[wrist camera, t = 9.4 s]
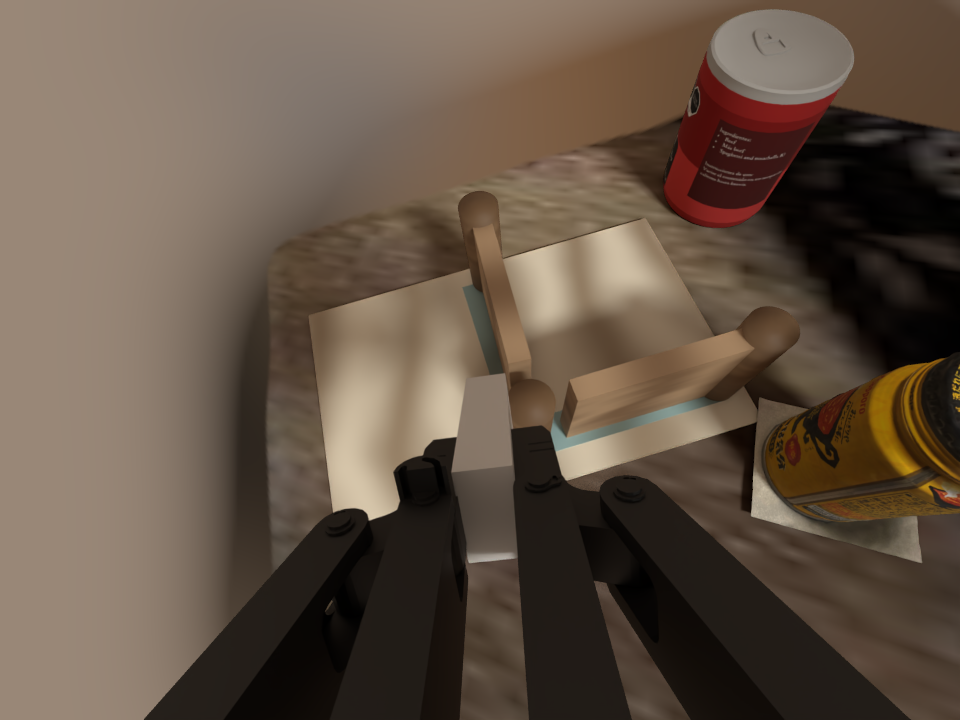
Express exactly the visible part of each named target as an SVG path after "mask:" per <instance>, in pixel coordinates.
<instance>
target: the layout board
mask: <svg viewBox="0 0 960 720" xmlns="http://www.w3.org/2000/svg"><path fill="white" fill-rule="evenodd" d="M503 262H504V265H505V269H506V272H507V276H508V279H509V282H510V286H511V289H512V293H513V296H514V300H515V303H516V307H517V310H518V314H519V317H520V320H521V324H522V327H523V331H524V334H525V338H526V341H527V345H528V348H529V352H530V355H531V379H536V380H540V381H542V382H544V383H545V384H547V385H548V386H549V387H550V388H551V389H552V391H553V393H554V395H555V399H556V407H555V412H554V418H553V423H552V429H551V436H552V440H553V444H554V447H555V451H556V455H557V459H558V462H559V466H560V470H561V474H562V475H563V477H564V478H565V480H566V481H567V480H570V479H573V478H577V477H580V476H583V475H587V474H590V473H593V472H596V471H600V470H603V469H606V468H610V467H613V466H616V465H619V464H623V463H626V462H629V461H633V460H636V459H639V458H642V457H646V456H649V455H652V454H656V453H659V452H662V451H665V450H669V449H672V448H675V447H678V446H682V445H685V444H688V443H692V442H695V441H698V440H701V439H705V438H708V437H711V436H715V435H718V434H721V433H724V432H728V431H731V430H734V429H738V428H741V427H744V426H747V425H751V424H754V423H757V416H758V410H757V408H756V406H755V405H754V403H753V401H752V400H751V398H750V396H749V394H748V393H747V391H746V389H745V388H744V386H743V387H742V388H741V389H740V390H738V391H737V392H736V393H735V394H734V395H732V396H731V397H730V398H729V399H727V400H724V401H713V400H710V399H708V398H706V397H701V398H698V399H694V400H691V401H688V402H684V403H681V404H678V405H674V406H671V407H668V408H664V409H661V410H658V411H654V412H651V413H648V414H645V415H641V416H638V417H635V418H631V419H628V420H625V421H621V422H618V423H615V424H611V425H608V426H605V427H601V428H598V429H595V430H591V431H588V432H585V433H582V434H578V435H575V436H572V437H568V438H566V435H565V433H564V430H563V427H562V425H561V422H560V418H561V414H562V409H563V405H564V401H565V396H566V392H567V387H568V383H569V380H570V379H573V378H576V377H580V376H583V375H587V374H590V373H593V372H597V371H600V370H603V369H607V368H610V367H613V366H617V365H620V364H624V363H627V362H630V361H634V360H637V359H640V358H644V357H647V356H650V355H654V354H657V353H660V352H664V351H667V350H671V349H674V348H677V347H681V346H684V345H687V344H691V343H694V342H697V341H701V340H704V339H708V338H711V337H714V335H713V333H712V331H711V329H710V328H709V326H708V324H707V323H706V321H705V319H704V317H703V316H702V314H701V312H700V311H699V309H698V307H697V305H696V304H695V302H694V300H693V299H692V297H691V295H690V293H689V292H688V290H687V288H686V287H685V285H684V283H683V281H682V280H681V278H680V276H679V275H678V273H677V271H676V269H675V268H674V266H673V264H672V263H671V261H670V259H669V257H668V256H667V254H666V252H665V251H664V249H663V247H662V245H661V244H660V242H659V240H658V239H657V237H656V235H655V233H654V232H653V230H652V228H651V227H650V225H649V223H648V221H647V220H646V218H644V219H640V220H637V221H633V222H630V223H627V224H623V225H620V226H616V227H613V228H609V229H606V230H602V231H599V232H595V233H592V234H588V235H585V236H581V237H578V238H575V239H571V240H568V241H564V242H561V243H557V244H554V245H550V246H547V247H543V248H540V249H536V250H533V251H529V252H526V253H522V254H519V255H516V256H512V257H509V258H505V259H503ZM308 316H309V324H310V332H311V340H312V348H313V356H314V364H315V372H316V380H317V388H318V396H319V404H320V412H321V420H322V428H323V436H324V443H325V451H326V459H327V467H328V475H329V483H330V491H331V499H332V507H333V513H334V512H336V511H338V510H339V511H340V510H342V509H349V508H357V509H362V510H364V511H365V512H366V513H367V514H368V518H369V520H372V519H375V518H378V517H381V516H384V515H387V514H389V513H392V512H394V511H396V510H397V508H398V505H399V502H400V499H399V495H398V490H397V486H396V482H395V478H394V474H393V472H394V470H395V469H396V467H397V466H398V465H400V464H401V463H402V462H404V461H406V460H408V459H411V458H413V457H417V456H422V455H423V453H424V450H425V448H426V447H427V446H428V445H429V444H430V443H431V442H432V441H433V440H436V439H444V438H452V437H457V433H458V427H459V421H460V415H461V408H462V402H463V396H464V390H465V383H466V378H473V377H480V376H488V375H495V374H503V373H504V372H503V369H502V365H501V361H500V357H499V353H498V349H497V345H496V341H495V337H494V333H493V329H492V325H491V321H490V318H489V314H488V310H487V306H486V302H485V298H484V294H483V292H480V291H478V290H477V289H476V288H475V287H474V286H473V283H472V278H471V273H470V269H467V270H464V271H460V272H457V273H453V274H450V275H446V276H443V277H439V278H436V279H432V280H429V281H425V282H422V283H418V284H415V285H412V286H408V287H405V288H401V289H398V290H394V291H391V292H387V293H384V294H380V295H377V296H373V297H370V298H366V299H363V300H359V301H356V302H353V303H349V304H346V305H342V306H339V307H335V308H332V309H328V310H325V311H321V312H318V313H314V314H311V315H308ZM507 390H508V388H507ZM508 393H509V392H508Z"/></svg>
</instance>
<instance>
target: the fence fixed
mask: <svg viewBox="0 0 960 720" xmlns="http://www.w3.org/2000/svg"><path fill="white" fill-rule="evenodd" d="M799 336H800V328H799V325H798V323H797V321H796V320H795V319H794V318H793V317H792V316H791V315H790V314H789V313H788V312H786V311H784V310H782V309H780V308H776V307H770V306H766V307H760V308H757V309H755V310H754V311H752V312H751V313H750V314H749V316H748V317H747V318H746V319H745V320H744V321H743V322H742V323H741V325H740V326H739V327H738V328H737V329H736V330H734V331H731V332H728V333H724V334H721V335H718V336H714V337H711V338H708V339H704V340H701V341H697V342H694V343H691V344H687V345H684V346H681V347H677V348H674V349H671V350H667V351H664V352H660V353H657V354H654V355H650V356H647V357H644V358H640V359H637V360H634V361H630V362H627V363H624V364H620V365H617V366H613V367H610V368H607V369H603V370H600V371H597V372H593V373H590V374H587V375H583V376H580V377H576V378H573V379H570V380H569V383H568V387H567V392H566V396H565V401H564V405H563V409H562V414H561V418H560V422H561V425H562V427H563V430H564V433H565V435H566V438H568V437H572V436H575V435H578V434H582V433H585V432H588V431H591V430H595V429H598V428H601V427H605V426H608V425H611V424H615V423H618V422H621V421H625V420H628V419H631V418H635V417H638V416H641V415H645V414H648V413H651V412H654V411H658V410H661V409H664V408H668V407H671V406H674V405H678V404H681V403H684V402H688V401H691V400H694V399H698V398H701V397H706V398H708V399H710V400H713V401H724V400H727V399H729V398H730V397H731V396H732V395H734V394H735V393H736V392H737V391H738V390H740V389H741V388H742V387H743V386H744V385H746V384H747V383H748V382H749V381H751V380H752V379H753V378H754V377H755V376H757V375H758V374H759V373H760V372H761V371H763V370H764V369H765V368H766V367H768V366H769V365H770V364H771V363H772V362H774V361H775V360H776V359H777V358H778V357H780V356H781V355H782V354H783V353H785V352H786V351H787V350H788V349H789V348H791V347H792V346H793V345H794V344H795V343H796V342H797V341H798V339H799ZM508 397H509V404H510V411H511V418H512V425H513V429H515V428H523V427H531V426H540V425H542V426H543V427H545V428H546V429H547V430H548V431H550V433H551V429H552V423H553V418H554V412H555V407H556V399H555V395H554V393H553V391H552V389H551V388H550V387H549V386H548V385H547V384H545V383H544V382H542V381H540V380H536V379H526V380H522V381H520V382H518V383H516V384H515V385H514V386H513V387H512V388H511V389H510V391H509V393H508Z"/></svg>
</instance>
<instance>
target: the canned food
mask: <svg viewBox="0 0 960 720" xmlns="http://www.w3.org/2000/svg"><path fill="white" fill-rule="evenodd" d="M853 62H854V52H853V49H852V47H851V44H850V42H849V41H848V40H847V39H846V37H845V36H844V35H843V34H842V33H841V32H840V31H839V30H837V29H836V28H835V27H833V26H832V25H830V24H828V23H827V22H825V21H823V20H821V19H818V18H816V17H814V16H810V15H807V14H804V13H799V12H794V11H789V10H774V9H772V10H758V11H752V12H747V13H744V14H741V15H738V16H736V17H734V18H731V19H729V20H728V21H726V22H725V23H724V24H722V25H721V26H720V27H719V28H718V29H717V31H716V32H715V33H714V36H713V38H712V40H711V42H710V44H709V46H708V49H707V52H706V54H705V57H704V60H703V63H702V65H701V68H700V70H699V73H698V76H697V79H696V82H695V85H694V88H693V91H692V94H691V97H690V99H689V102H688V105H687V108H686V111H685V114H684V117H683V120H682V123H681V125H680V128H679V131H678V134H677V137H676V140H675V143H674V146H673V149H672V152H671V154H670V157H669V160H668V163H667V166H666V169H665V172H664V178H663V188H664V195H665V197H666V200H667V202H668V204H669V205H670V206H671V208H672V209H673V210H674V211H675V212H676V213H677V214H678V215H680V216H681V217H683V218H684V219H686V220H688V221H690V222H692V223H694V224H697V225H701V226H705V227H711V228H725V227H731V226H735V225H738V224H740V223H742V222H744V221H746V220H748V219H749V218H750V217H751V216H753V215H754V214H755V213H756V212H757V211H759V210H760V209H761V207H762V206H763V204H764V203H765V201H766V200H767V198H768V197H769V195H770V194H771V192H772V191H773V189H774V188H775V186H776V185H777V183H778V182H779V180H780V179H781V177H782V176H783V174H784V173H785V171H786V170H787V168H788V167H789V165H790V164H791V162H792V161H793V159H794V158H795V156H796V155H797V153H798V152H799V150H800V149H801V147H802V146H803V144H804V143H805V141H806V140H807V138H808V137H809V135H810V134H811V132H812V131H813V129H814V128H815V126H816V125H817V123H818V122H819V120H820V119H821V117H822V116H823V114H824V113H825V111H826V110H827V108H828V107H829V105H830V104H831V102H832V101H833V99H834V98H835V96H836V94H837V92H838V91H839V89H840V88H841V86H842V85H843V83H844V82H845V80H846V78H847V76H848V73H849V72H850V70H851V69H852V66H853Z"/></svg>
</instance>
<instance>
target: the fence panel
mask: <svg viewBox="0 0 960 720" xmlns="http://www.w3.org/2000/svg"><path fill="white" fill-rule="evenodd" d="M458 211H459V217H460V222H461V227H462V232H463V237H464V242H465V247H466V253H467V258H468V263H469V268H470V273H471V278H472V283H473V286H474V287H475V288H476V289H477V290H478V291H480V292H483V294H484V298H485V302H486V306H487V310H488V314H489V318H490V321H491V325H492V329H493V333H494V337H495V341H496V345H497V349H498V353H499V357H500V361H501V365H502V369H503V372H504V373H505V375H506V383H507V388H508V392H509V391H510V389H511V388H512V387H513V386H514V385H515V384H516V383H518V382H520V381H522V380H526V379H531V355H530V352H529V348H528V345H527V341H526V338H525V334H524V331H523V327H522V324H521V320H520V317H519V314H518V310H517V307H516V303H515V300H514V296H513V293H512V289H511V286H510V282H509V279H508V276H507V272H506V269H505V265H504V262H503V258H502V245H501V233H500V221H499V208H498V201H497V199H496V198H495V196H493V195H492V194H490V193H488V192H485V191H476V192H471V193H469V194H467V195H466V196H464V197H463V198H462V199H461V201H460V202H459V205H458Z"/></svg>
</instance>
